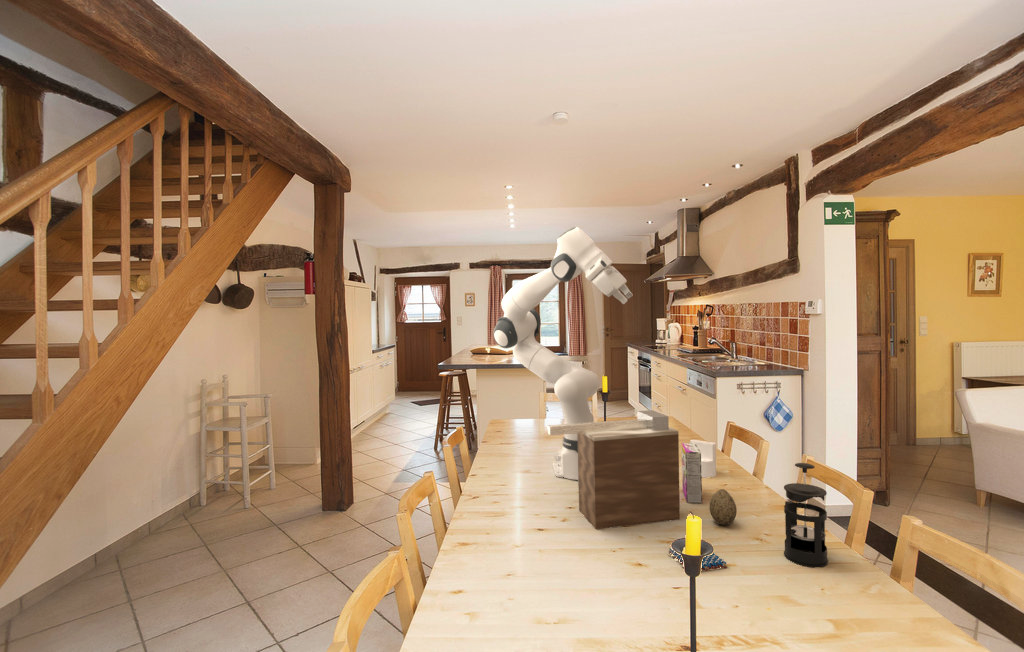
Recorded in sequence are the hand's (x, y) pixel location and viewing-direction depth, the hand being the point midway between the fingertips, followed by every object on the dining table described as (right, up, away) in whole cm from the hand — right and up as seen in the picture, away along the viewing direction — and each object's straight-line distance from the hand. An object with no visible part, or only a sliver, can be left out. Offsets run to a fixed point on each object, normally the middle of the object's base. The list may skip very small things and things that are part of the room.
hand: (628, 299), depth 160 cm
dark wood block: (-2, -65, -9) cm, 66 cm away
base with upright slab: (+34, -64, +27) cm, 77 cm away
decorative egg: (+23, -65, -17) cm, 71 cm away
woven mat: (+8, -66, -38) cm, 77 cm away
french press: (+34, -65, -37) cm, 82 cm away
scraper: (-9, -39, -11) cm, 42 cm away
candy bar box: (+22, -64, +4) cm, 68 cm away
